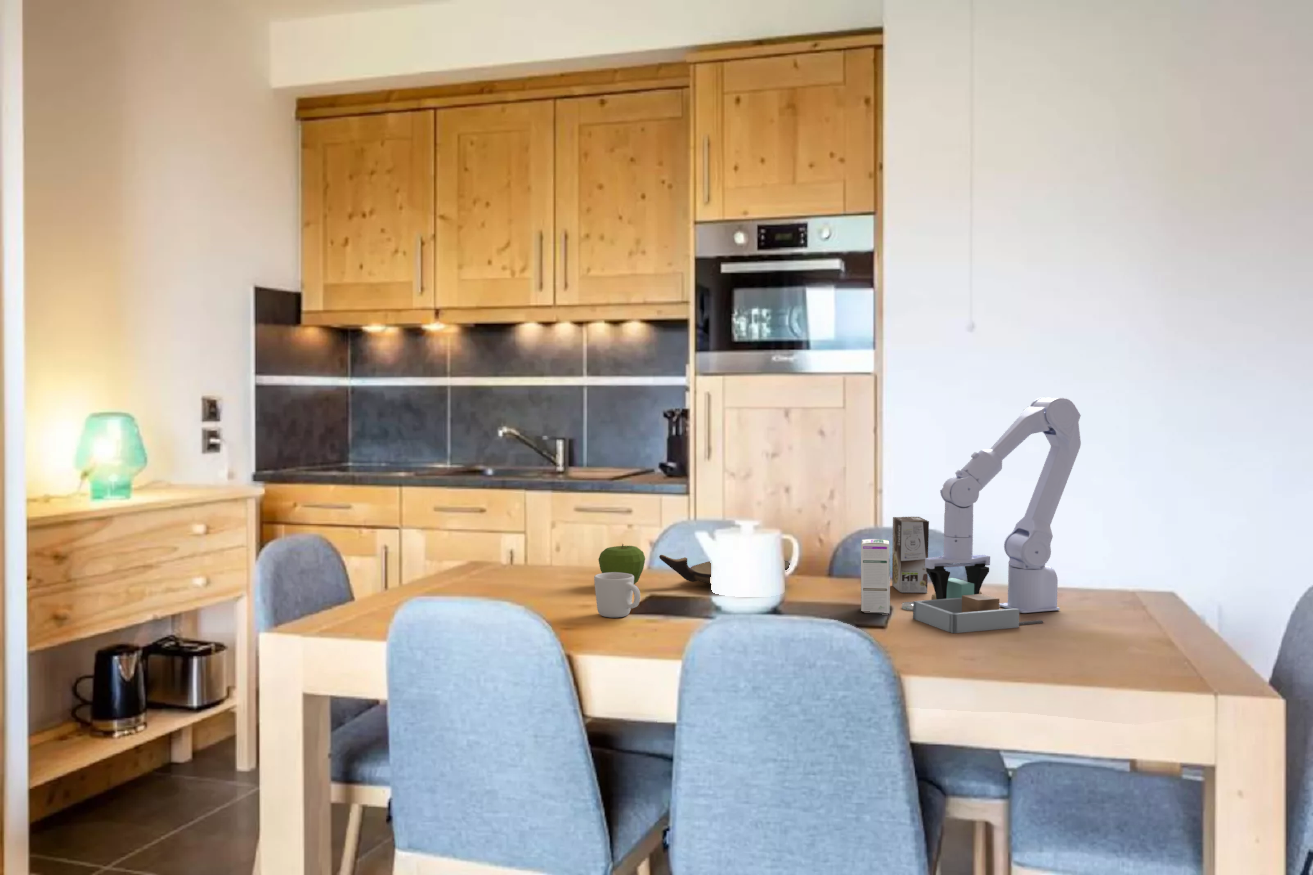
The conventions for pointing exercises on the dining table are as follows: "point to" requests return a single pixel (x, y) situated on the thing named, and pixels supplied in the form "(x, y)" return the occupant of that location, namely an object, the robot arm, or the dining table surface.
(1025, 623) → the strips
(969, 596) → the cube
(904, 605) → the washer
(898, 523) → the coffee box
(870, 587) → the syrup box
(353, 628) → the dining table surface
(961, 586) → the green block
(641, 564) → the apple
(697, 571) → the oil lamp
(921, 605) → the tray
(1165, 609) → the dining table surface
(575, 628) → the dining table surface
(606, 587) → the cup
